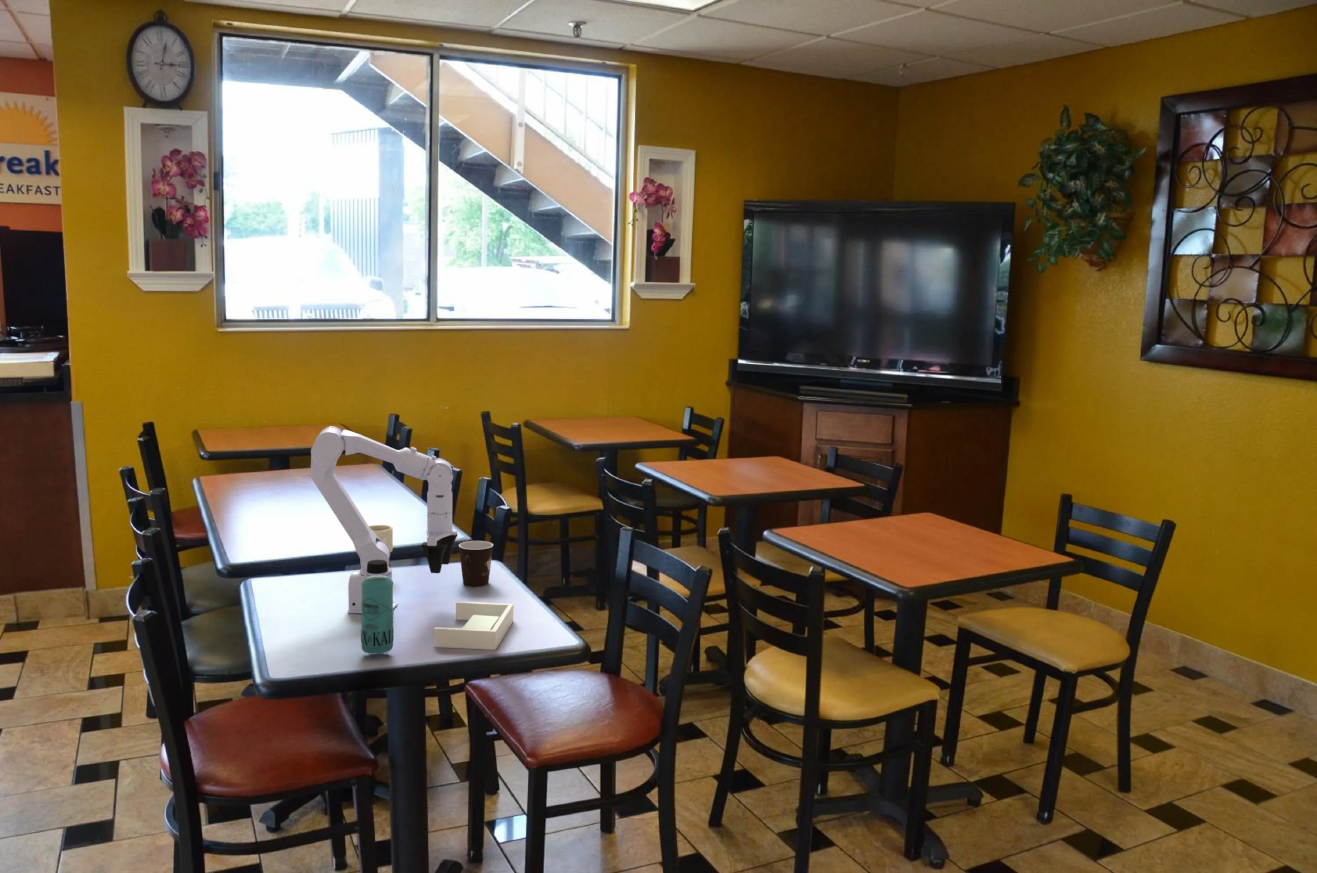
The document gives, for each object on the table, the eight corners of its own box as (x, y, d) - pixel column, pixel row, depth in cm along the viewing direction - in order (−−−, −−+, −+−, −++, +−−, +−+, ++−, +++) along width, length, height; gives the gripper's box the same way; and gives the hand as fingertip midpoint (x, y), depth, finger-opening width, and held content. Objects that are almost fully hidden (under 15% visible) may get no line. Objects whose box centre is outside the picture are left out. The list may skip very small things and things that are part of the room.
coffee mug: (476, 576, 270) (476, 539, 269) (499, 582, 265) (500, 544, 264) (442, 586, 261) (442, 547, 259) (466, 592, 256) (466, 553, 254)
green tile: (462, 641, 223) (462, 628, 222) (473, 627, 232) (473, 614, 231) (489, 643, 222) (489, 629, 222) (499, 629, 231) (499, 616, 231)
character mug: (358, 573, 270) (357, 524, 268) (385, 569, 274) (384, 521, 272) (372, 584, 261) (371, 533, 259) (399, 580, 265) (399, 530, 263)
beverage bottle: (364, 650, 215) (363, 556, 212) (396, 649, 215) (396, 556, 213) (358, 661, 208) (356, 565, 206) (391, 661, 209) (390, 565, 206)
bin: (434, 646, 218) (434, 628, 217) (457, 618, 237) (457, 601, 236) (495, 649, 217) (495, 631, 217) (513, 620, 236) (513, 603, 235)
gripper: (448, 519, 234) (448, 577, 236) (464, 505, 248) (464, 560, 250) (417, 518, 234) (418, 576, 236) (435, 504, 248) (435, 559, 250)
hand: (439, 568), depth 243 cm, fingers open, 7 cm apart
